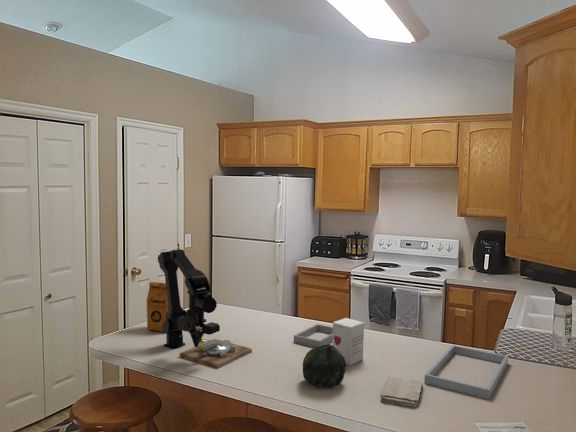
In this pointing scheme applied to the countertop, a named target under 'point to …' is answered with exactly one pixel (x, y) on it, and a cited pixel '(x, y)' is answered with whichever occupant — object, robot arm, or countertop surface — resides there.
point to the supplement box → (349, 339)
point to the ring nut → (215, 348)
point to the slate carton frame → (463, 386)
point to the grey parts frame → (301, 336)
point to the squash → (324, 366)
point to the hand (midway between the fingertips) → (196, 346)
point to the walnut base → (216, 360)
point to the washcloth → (401, 391)
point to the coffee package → (156, 306)
